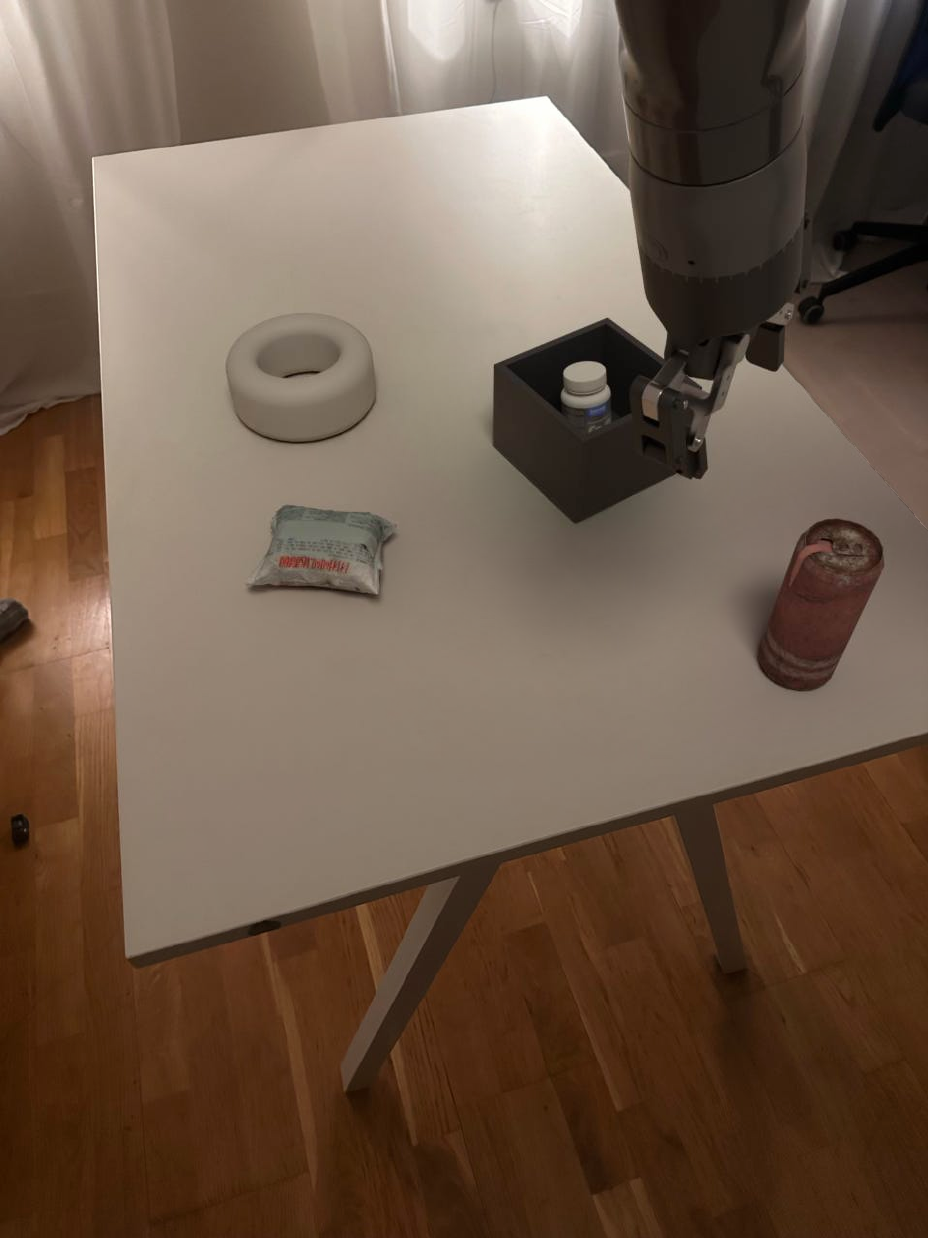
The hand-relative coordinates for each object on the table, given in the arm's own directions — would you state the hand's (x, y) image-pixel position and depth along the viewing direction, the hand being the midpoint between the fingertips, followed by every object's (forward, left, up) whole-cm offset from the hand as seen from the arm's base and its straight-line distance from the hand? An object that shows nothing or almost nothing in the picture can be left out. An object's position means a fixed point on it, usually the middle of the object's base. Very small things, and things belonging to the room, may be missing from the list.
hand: (727, 415), depth 58 cm
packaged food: (+17, -26, -27) cm, 41 cm away
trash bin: (-12, -25, -26) cm, 38 cm away
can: (-10, +5, -27) cm, 29 cm away
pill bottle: (-11, -25, -25) cm, 37 cm away
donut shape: (+7, -49, -27) cm, 56 cm away
